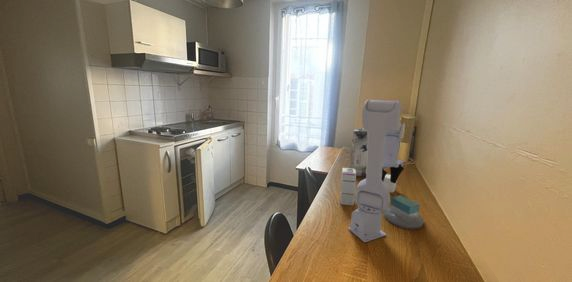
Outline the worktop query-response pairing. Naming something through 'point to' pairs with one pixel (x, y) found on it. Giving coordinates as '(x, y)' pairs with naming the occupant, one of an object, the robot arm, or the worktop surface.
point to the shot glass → (389, 183)
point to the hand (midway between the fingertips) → (386, 183)
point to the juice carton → (359, 151)
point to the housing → (404, 208)
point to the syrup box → (348, 186)
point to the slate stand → (403, 221)
